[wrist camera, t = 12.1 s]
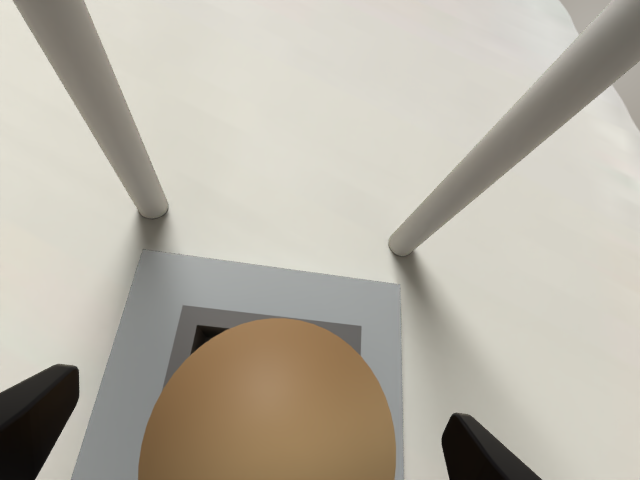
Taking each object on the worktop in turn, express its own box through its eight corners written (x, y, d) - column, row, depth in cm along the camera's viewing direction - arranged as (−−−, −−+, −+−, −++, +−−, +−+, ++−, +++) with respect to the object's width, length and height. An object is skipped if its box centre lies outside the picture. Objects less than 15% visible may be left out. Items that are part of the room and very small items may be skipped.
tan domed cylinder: (317, 442, 16) (436, 526, 6) (221, 487, 15) (169, 692, 5) (287, 348, 17) (343, 290, 7) (196, 381, 16) (117, 364, 6)
